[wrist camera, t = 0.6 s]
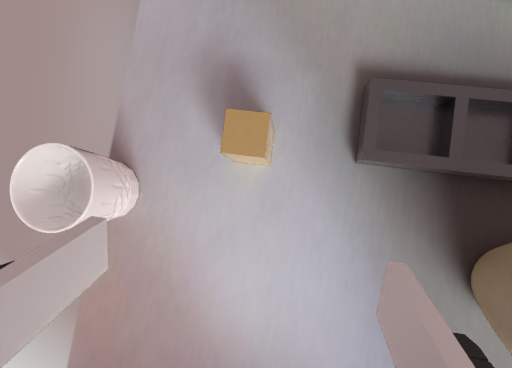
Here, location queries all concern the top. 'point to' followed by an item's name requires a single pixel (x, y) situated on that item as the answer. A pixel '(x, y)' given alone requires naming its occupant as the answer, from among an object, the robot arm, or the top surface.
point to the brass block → (248, 137)
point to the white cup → (69, 187)
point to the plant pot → (495, 290)
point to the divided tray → (437, 128)
